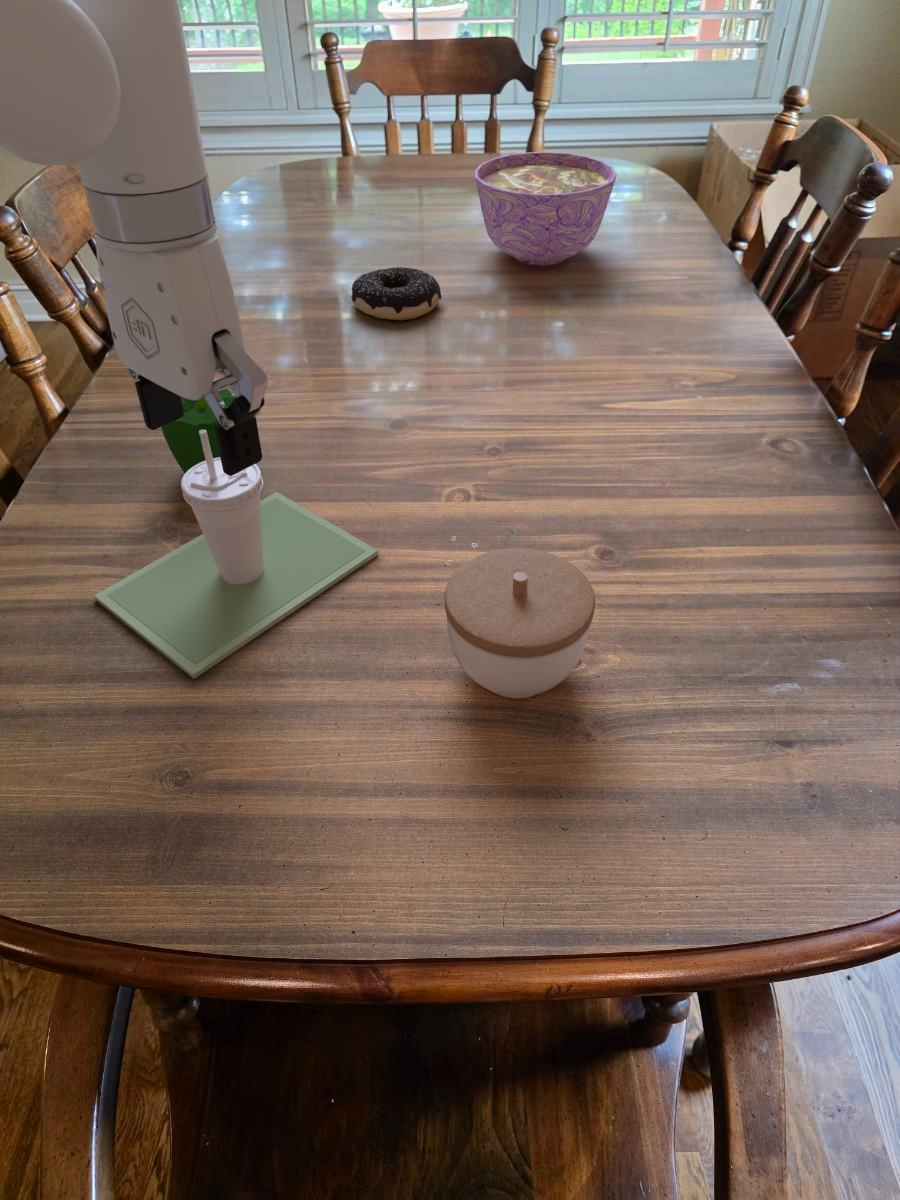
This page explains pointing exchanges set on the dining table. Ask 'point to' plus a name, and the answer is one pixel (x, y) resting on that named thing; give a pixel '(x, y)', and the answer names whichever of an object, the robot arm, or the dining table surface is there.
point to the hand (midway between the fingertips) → (203, 444)
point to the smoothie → (228, 515)
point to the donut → (396, 293)
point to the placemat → (233, 587)
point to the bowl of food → (543, 203)
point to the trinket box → (518, 619)
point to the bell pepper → (194, 431)
